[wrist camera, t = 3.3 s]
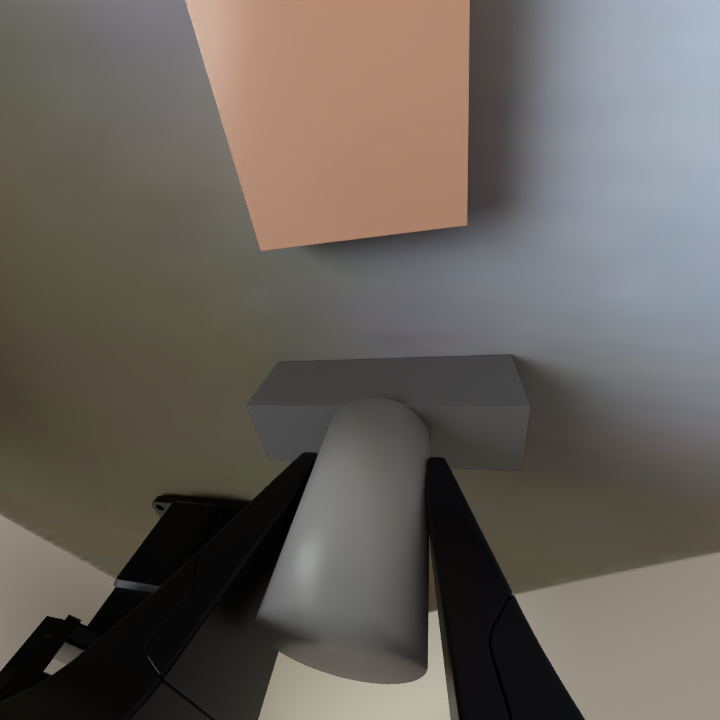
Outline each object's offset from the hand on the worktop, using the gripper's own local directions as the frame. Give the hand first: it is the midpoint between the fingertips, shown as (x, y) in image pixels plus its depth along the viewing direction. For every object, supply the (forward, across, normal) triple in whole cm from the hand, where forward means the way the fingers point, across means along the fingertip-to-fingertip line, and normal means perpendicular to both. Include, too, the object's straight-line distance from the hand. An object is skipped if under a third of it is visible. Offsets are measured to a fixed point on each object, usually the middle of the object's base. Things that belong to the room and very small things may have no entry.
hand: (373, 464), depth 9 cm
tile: (+4, 0, -8) cm, 9 cm away
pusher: (+4, 0, 0) cm, 4 cm away
